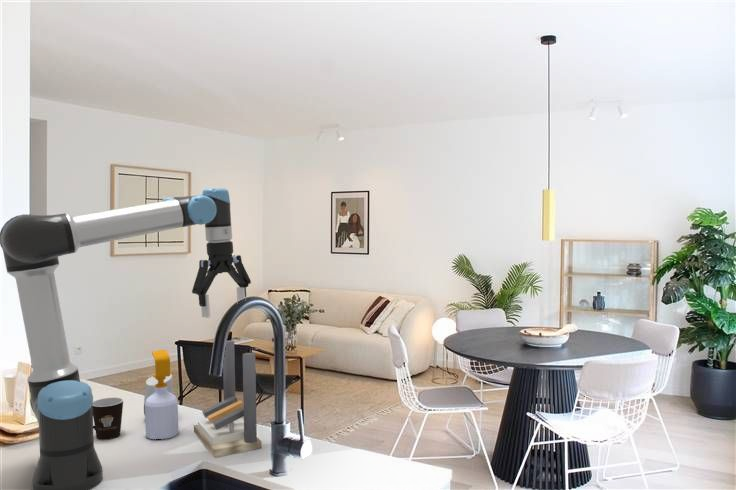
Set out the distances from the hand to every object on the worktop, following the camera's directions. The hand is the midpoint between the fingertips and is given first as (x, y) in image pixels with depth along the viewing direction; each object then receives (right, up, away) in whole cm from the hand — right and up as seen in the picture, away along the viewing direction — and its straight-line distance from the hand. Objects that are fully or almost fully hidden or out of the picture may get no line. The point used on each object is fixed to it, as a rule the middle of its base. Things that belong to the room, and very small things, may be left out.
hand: (224, 312), depth 181 cm
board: (+2, -35, -7) cm, 36 cm away
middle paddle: (+2, -27, -7) cm, 28 cm away
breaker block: (+2, -33, -7) cm, 34 cm away
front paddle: (+5, -28, -12) cm, 30 cm away
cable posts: (+6, -33, -5) cm, 34 cm away
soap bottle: (-18, -36, -2) cm, 40 cm away
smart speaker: (-23, -35, +11) cm, 43 cm away
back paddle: (-1, -27, -2) cm, 27 cm away
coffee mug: (-35, -36, -3) cm, 50 cm away
